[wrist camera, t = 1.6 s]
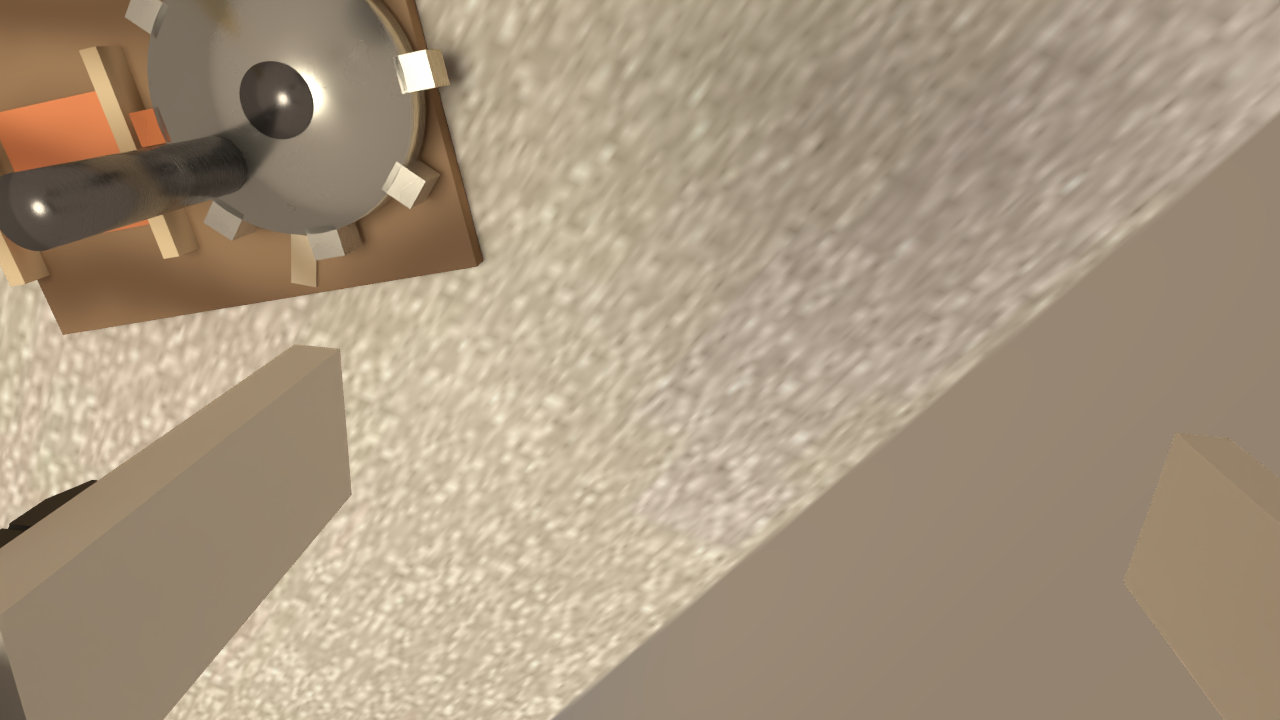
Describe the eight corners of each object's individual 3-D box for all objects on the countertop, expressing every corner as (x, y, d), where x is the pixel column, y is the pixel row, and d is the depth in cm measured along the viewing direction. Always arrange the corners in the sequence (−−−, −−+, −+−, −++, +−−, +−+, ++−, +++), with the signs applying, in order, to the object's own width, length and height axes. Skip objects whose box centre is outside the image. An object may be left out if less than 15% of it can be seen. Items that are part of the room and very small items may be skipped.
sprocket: (100, -38, 33) (-212, -77, 22) (398, -114, 31) (215, -198, 20) (218, 270, 37) (8, 365, 27) (486, 224, 35) (376, 306, 24)
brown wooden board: (-66, 15, 36) (-121, 14, 34) (388, -98, 32) (362, -109, 30) (78, 328, 41) (39, 345, 39) (483, 260, 38) (467, 275, 35)
